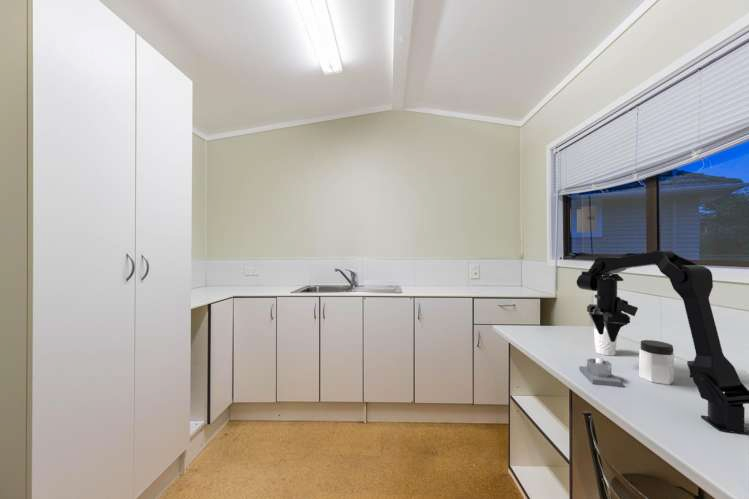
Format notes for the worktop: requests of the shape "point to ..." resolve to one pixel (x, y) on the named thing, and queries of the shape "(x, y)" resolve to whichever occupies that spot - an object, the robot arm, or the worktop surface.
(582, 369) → the block
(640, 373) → the jar
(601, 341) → the white cup
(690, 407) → the worktop surface
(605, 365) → the hub ring
